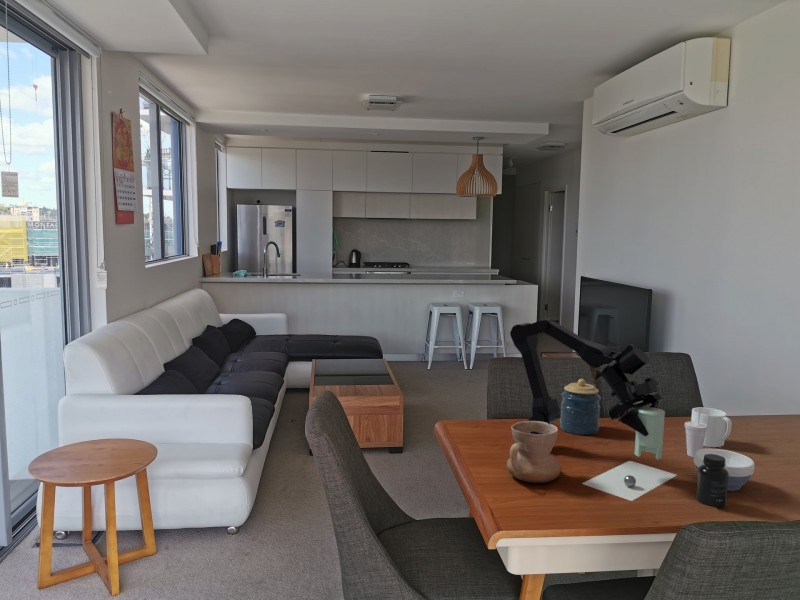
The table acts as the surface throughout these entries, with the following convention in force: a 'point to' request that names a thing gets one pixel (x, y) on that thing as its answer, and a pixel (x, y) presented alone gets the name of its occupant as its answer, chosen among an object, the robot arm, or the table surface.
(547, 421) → the robot arm
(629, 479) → the steel ball
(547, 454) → the ceramic jug
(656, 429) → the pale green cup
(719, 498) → the supplement bottle
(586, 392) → the canister
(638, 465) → the off-white mat
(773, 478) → the table surface
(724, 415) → the mug
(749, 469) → the bowl
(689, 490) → the table surface
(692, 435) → the smoothie
